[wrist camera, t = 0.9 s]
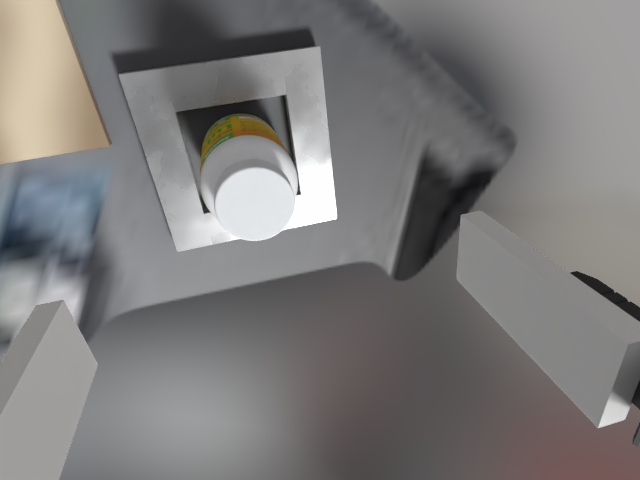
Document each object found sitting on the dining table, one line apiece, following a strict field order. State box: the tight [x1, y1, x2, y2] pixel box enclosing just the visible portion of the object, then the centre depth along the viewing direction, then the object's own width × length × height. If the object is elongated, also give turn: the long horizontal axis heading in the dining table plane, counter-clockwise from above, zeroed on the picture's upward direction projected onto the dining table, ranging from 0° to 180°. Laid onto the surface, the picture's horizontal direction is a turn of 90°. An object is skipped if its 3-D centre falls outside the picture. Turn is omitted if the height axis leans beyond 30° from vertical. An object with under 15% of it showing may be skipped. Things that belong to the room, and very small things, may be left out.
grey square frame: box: [119, 46, 337, 252], centre depth 28 cm, size 12×12×1 cm
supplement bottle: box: [200, 114, 298, 241], centre depth 24 cm, size 5×5×10 cm
